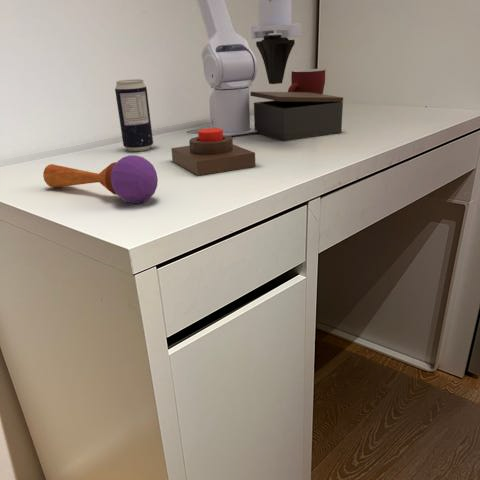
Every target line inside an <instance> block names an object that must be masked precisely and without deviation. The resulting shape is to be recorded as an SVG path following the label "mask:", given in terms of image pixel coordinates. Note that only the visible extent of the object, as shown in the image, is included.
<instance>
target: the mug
mask: <svg viewBox="0 0 480 480" xmlns="http://www.w3.org/2000/svg"><path fill="white" fill-rule="evenodd" d="M290 77H291V78H290V79H291V80H290V81H291V85H290V86H289V87H288V90H287V92H310V93H316V94H323V95H324V89H325V84H326V69H324V68H304V69H303V68H302V69H293V70H291V76H290Z"/></svg>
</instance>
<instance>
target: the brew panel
mask: <svg viewBox="0 0 480 480" xmlns="http://www.w3.org/2000/svg"><path fill="white" fill-rule="evenodd" d="M233 140H234V139H233V136H226V135H223V140H221V141H213V142H202V141H199V138H198V136H196V137H191V138H190V139H189V142H188V143H189V145H184V146H176V147H171V148H170V150H171V158H172V159H171V160H172V162H173V163H175V164H177V165H178V166H180V167H182V168H184V169H185V170H187V171H189V172H191V173H193V174H194V175H195V176H206V175H211V174H216V173H217V174H219V173H225V172H230V171H236V170H242V169H243V170H244V169H249V168H255V167H256V152H254V151H252V150H249V149H246V148H244V147H241V146H239V145H236V144H234V142H233Z"/></svg>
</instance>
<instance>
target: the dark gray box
mask: <svg viewBox="0 0 480 480" xmlns="http://www.w3.org/2000/svg"><path fill="white" fill-rule="evenodd" d="M343 108H344V101H343V102H280V101H275V100H265V101H257V102H253V121H254V124H253V125H254V126H253V127H254V129H255V130H258V132H257V133H258V134H261V135H264V136H267V137H270V138H274V139H277V140H280V141H283V142H285V141H291V140H292V141H293V140H298V139H307V138H313V137H321V136H326V135H327V136H328V135H333V134H341V133H342V131H343V130H342V127H343V126H342V125H343V111H344V110H343Z"/></svg>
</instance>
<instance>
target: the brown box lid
mask: <svg viewBox="0 0 480 480" xmlns="http://www.w3.org/2000/svg"><path fill="white" fill-rule="evenodd" d="M249 97H253V98H254V97H255V98H260V99H265V100H269V101H274V100H275V101H280V102H343V103H344V97H343V96H335V95H330V94H329V95H328V94H324V93H323V94H316V93H310V92H288V91H250V93H249Z"/></svg>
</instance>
